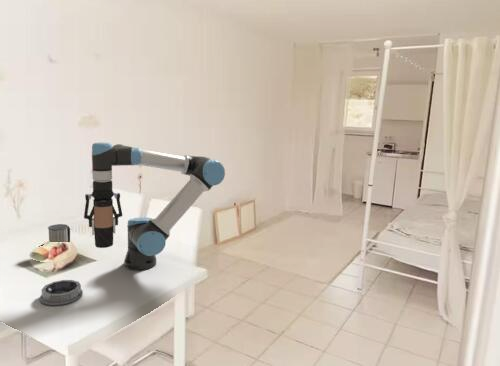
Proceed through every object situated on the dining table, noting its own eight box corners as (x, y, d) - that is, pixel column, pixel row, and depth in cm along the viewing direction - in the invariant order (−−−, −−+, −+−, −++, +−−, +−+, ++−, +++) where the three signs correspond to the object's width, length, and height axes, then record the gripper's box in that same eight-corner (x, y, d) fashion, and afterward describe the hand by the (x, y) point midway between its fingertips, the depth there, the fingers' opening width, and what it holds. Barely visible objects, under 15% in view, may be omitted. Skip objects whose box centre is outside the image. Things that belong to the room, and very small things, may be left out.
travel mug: (107, 249, 155) (106, 202, 152) (90, 247, 157) (89, 200, 153) (117, 243, 163) (116, 198, 159) (101, 241, 164) (100, 196, 161)
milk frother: (67, 257, 188) (66, 229, 185) (32, 259, 183) (30, 230, 181) (72, 247, 201) (71, 221, 199) (39, 249, 197) (38, 221, 194)
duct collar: (87, 287, 156) (87, 279, 156) (75, 305, 142) (75, 296, 141) (49, 288, 155) (48, 279, 154) (33, 306, 140) (32, 296, 139)
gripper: (127, 178, 162) (128, 229, 166) (75, 179, 154) (77, 232, 158) (129, 181, 155) (129, 234, 159) (74, 182, 148) (76, 238, 152)
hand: (103, 233), depth 159 cm, fingers closed on travel mug, 8 cm apart
